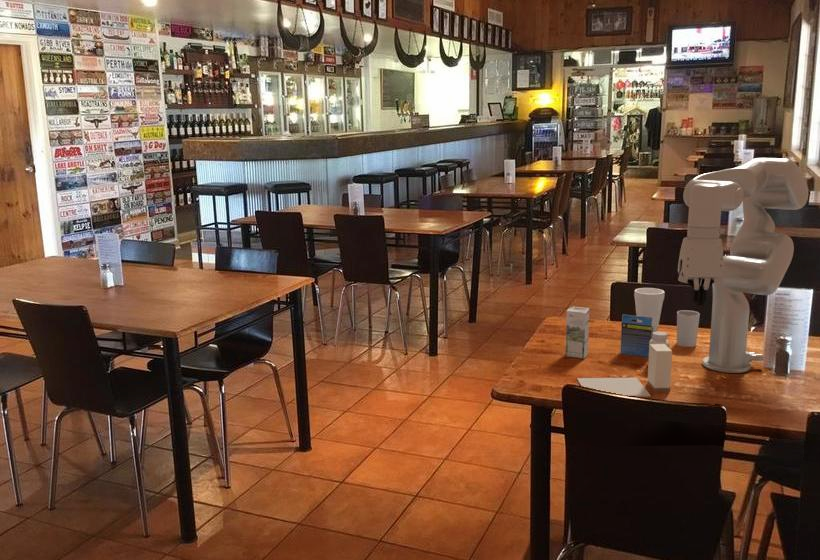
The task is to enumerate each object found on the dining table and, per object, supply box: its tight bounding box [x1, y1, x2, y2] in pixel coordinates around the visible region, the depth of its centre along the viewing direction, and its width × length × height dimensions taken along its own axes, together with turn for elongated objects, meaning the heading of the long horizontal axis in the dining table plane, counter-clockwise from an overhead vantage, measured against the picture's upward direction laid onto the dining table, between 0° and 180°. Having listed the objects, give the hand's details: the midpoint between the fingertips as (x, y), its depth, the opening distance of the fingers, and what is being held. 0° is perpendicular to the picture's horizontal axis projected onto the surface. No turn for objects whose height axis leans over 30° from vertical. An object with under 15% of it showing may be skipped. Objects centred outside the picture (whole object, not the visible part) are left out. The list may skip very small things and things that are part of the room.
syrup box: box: [565, 306, 590, 360], centre depth 221 cm, size 6×6×14 cm
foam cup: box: [633, 287, 666, 332], centre depth 247 cm, size 10×9×13 cm
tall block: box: [646, 344, 673, 393], centre depth 194 cm, size 4×6×11 cm, turn 179°
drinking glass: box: [676, 309, 701, 348], centre depth 230 cm, size 7×7×10 cm
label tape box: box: [620, 314, 654, 358], centre depth 222 cm, size 9×4×12 cm, turn 63°
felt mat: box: [576, 377, 652, 398], centre depth 196 cm, size 16×13×1 cm
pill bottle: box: [647, 330, 670, 364], centre depth 211 cm, size 5×5×10 cm
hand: (698, 304), depth 190 cm, fingers closed
